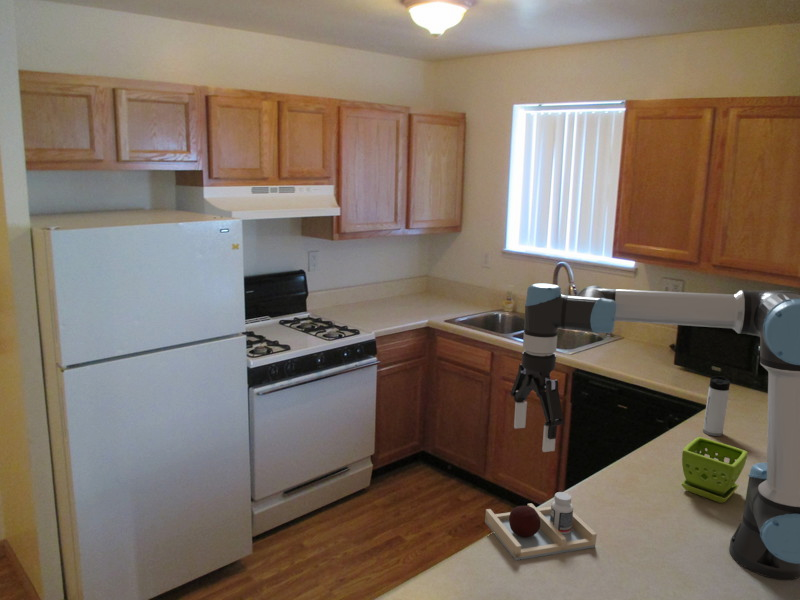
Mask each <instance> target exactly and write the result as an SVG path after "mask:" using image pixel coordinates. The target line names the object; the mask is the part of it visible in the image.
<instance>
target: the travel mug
mask: <svg viewBox="0 0 800 600" xmlns="http://www.w3.org/2000/svg"><path fill="white" fill-rule="evenodd" d="M730 385H731V381H730V379H728V378H726V377H725V376H723V375H722V376H720V375H718V376H712V377H710V379H709V386H708V390H707V398H706V406H705V413H704V420H703V426H702V427H703V428H702V431H703V433H704V434H706V435H708V436H711V437H721V436H723V434H724V426H725V422H726V421H725V420H726V414H727V408H728V399H729V393H730Z"/></svg>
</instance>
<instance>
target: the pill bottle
mask: <svg viewBox="0 0 800 600" xmlns="http://www.w3.org/2000/svg"><path fill="white" fill-rule="evenodd" d="M553 499H554V500H553V501H552V503H551V506H550V507H551V515H550V522H551V523H552V524H553V525H554V527H555V528H556V529H557V530H558V531H559V532H560V533H561V534H568V533H570V532H571V528H572V517H573V512H574V506H573V504H572V496H571V494H570V493H567V492H563V491H558V492H556V493H555V494H554V498H553Z"/></svg>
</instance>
